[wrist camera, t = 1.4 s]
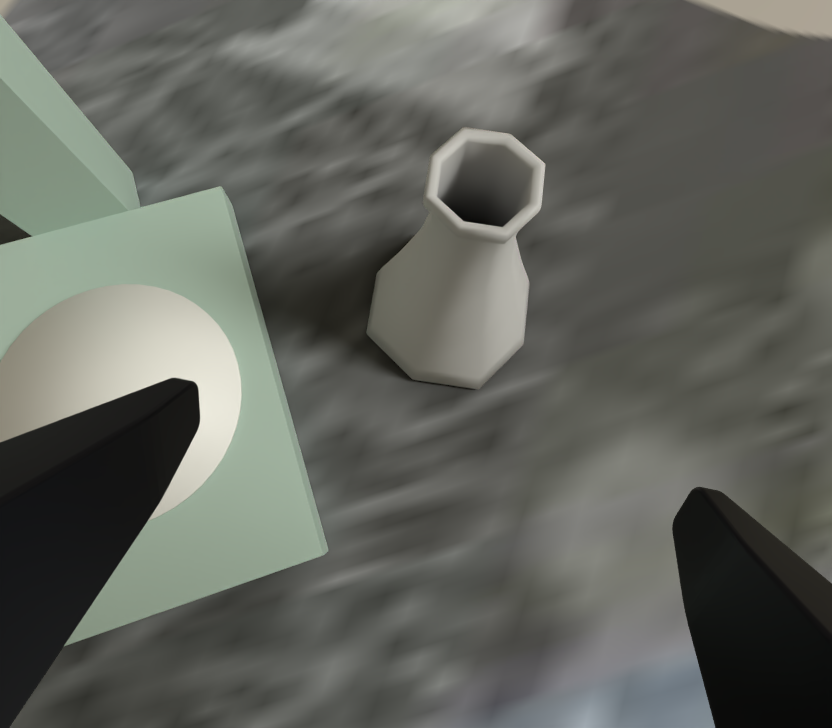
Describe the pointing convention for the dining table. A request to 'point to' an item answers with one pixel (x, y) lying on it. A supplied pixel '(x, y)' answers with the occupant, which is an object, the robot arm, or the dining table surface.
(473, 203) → the flask
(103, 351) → the bench press
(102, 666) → the dining table surface
